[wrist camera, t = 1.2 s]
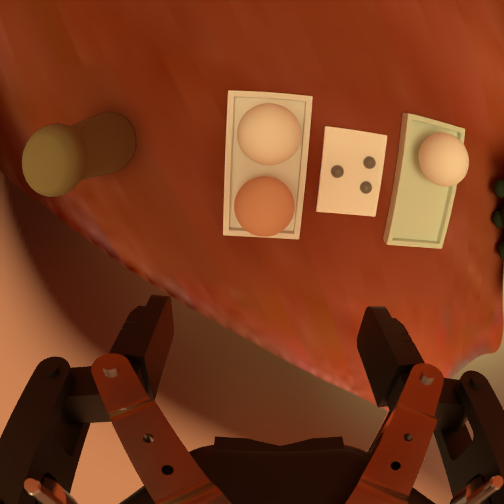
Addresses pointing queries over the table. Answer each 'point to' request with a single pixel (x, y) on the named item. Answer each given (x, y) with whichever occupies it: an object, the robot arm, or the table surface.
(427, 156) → the ball
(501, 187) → the toy figurine
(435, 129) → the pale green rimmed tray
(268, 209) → the ball
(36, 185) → the olive green waisted cylinder
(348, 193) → the card
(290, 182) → the egg tray
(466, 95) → the table surface
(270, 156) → the ball
